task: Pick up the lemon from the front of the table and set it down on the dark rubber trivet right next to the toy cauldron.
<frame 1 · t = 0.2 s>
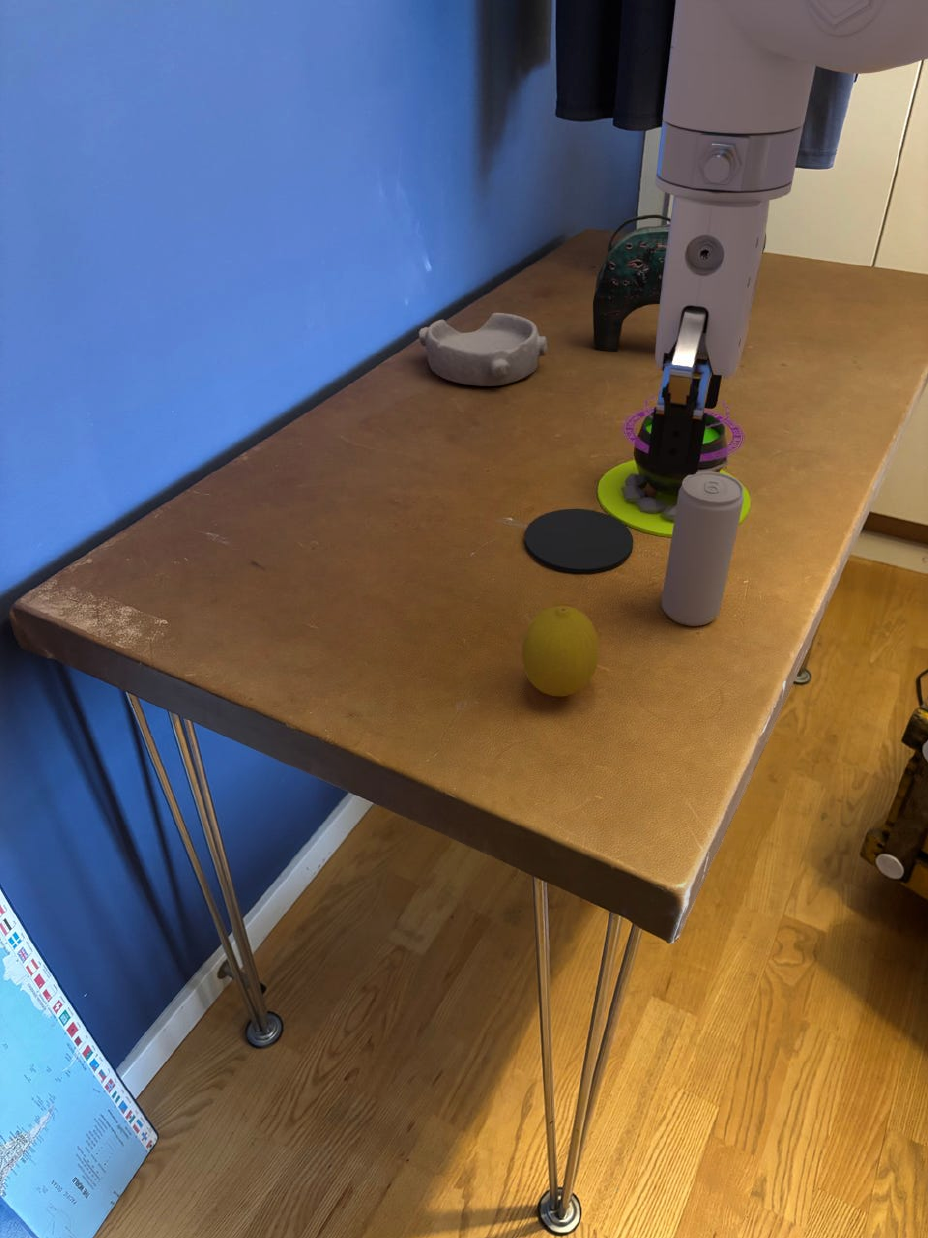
hand: (683, 435, 62), 18 cm above the table, tool pointing down, fingers open, 9 cm apart
toy cauldron: (672, 497, 91), on the table
dish: (484, 370, 115), on the table
beverage can: (689, 613, 76), on the table
ceramic cat: (665, 354, 119), on the table
lemon: (557, 694, 69), on the table
trivet: (578, 542, 84), on the table
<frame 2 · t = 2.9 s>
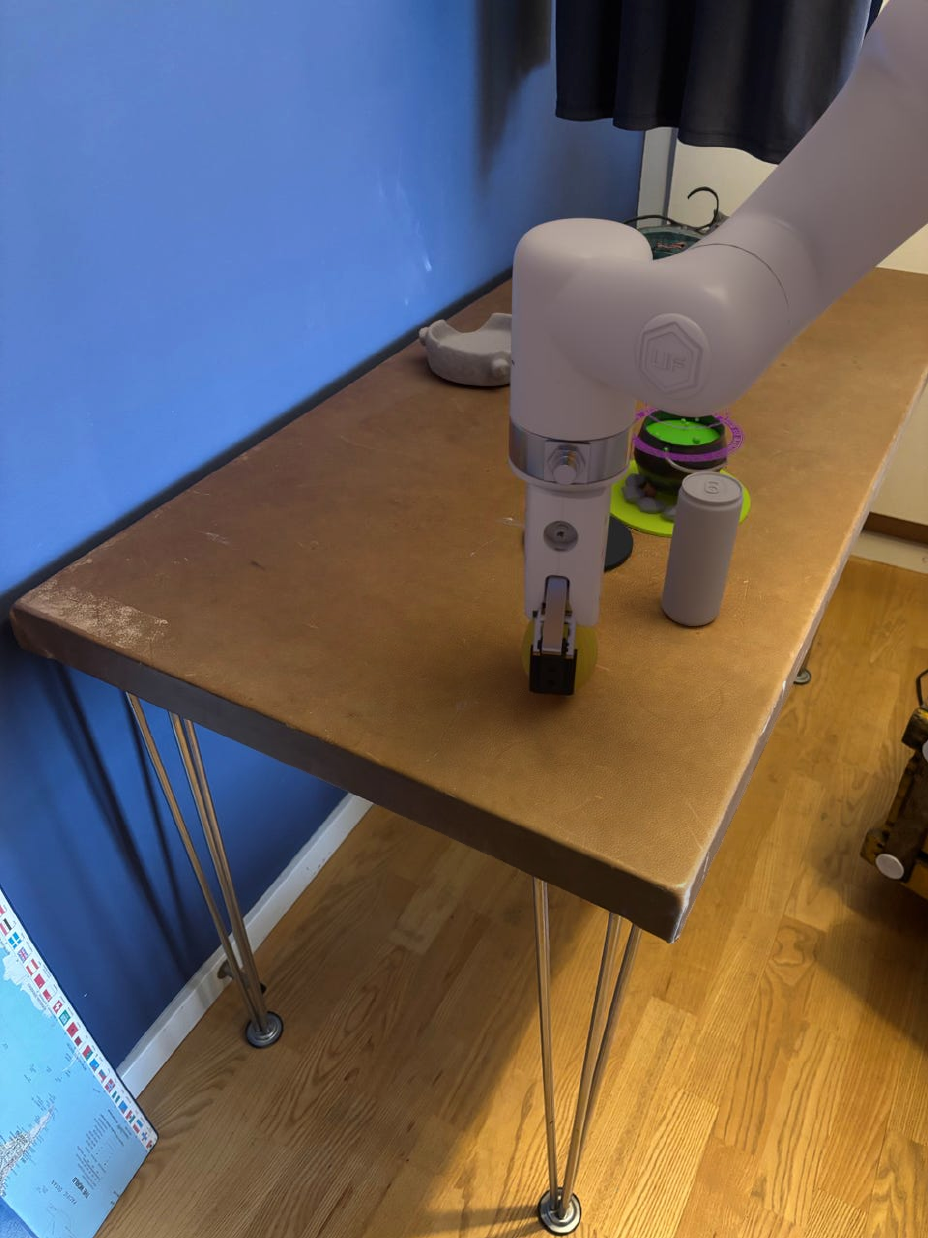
hand: (554, 660, 67), 3 cm above the table, tool pointing down, fingers closed on lemon, 5 cm apart
lemon: (556, 693, 69), on the table, touching gripper
everything else where it was.
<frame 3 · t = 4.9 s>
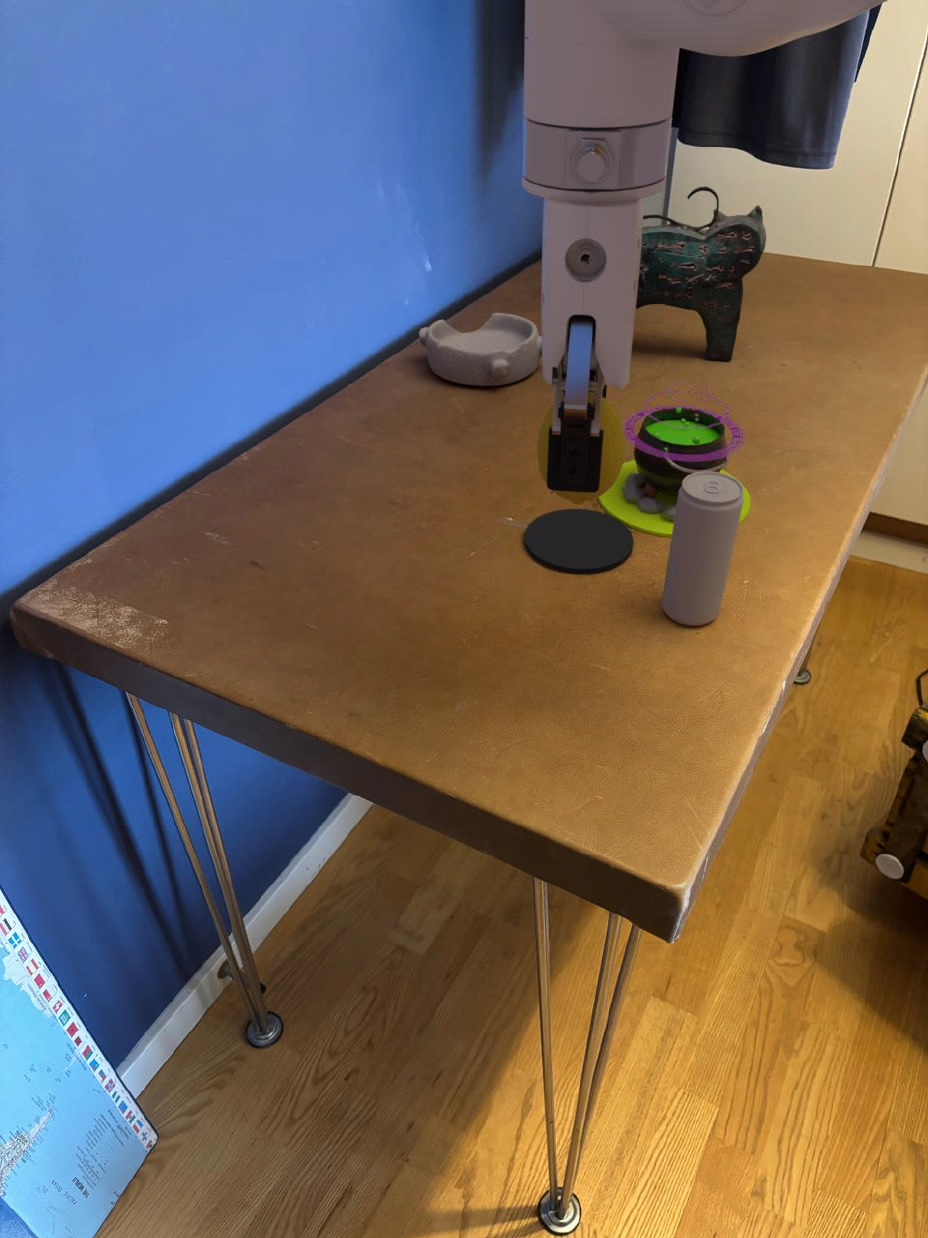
hand: (575, 461, 58), 19 cm above the table, tool pointing down, fingers closed on lemon, 5 cm apart
lemon: (577, 506, 60), point 15 cm above the table, touching gripper
everything else where it was.
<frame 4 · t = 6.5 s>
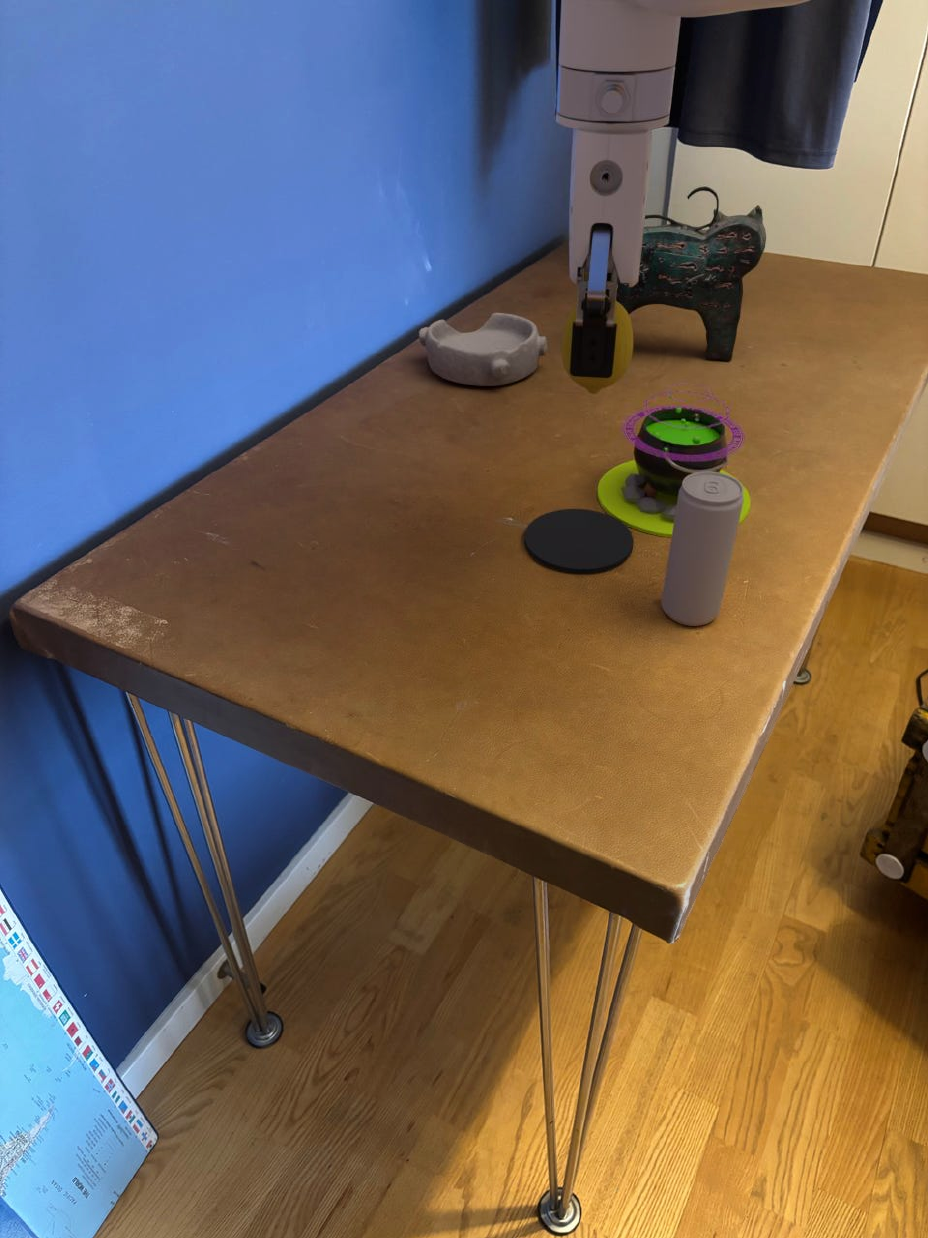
hand: (593, 356, 71), 19 cm above the table, tool pointing down, fingers closed on lemon, 5 cm apart
lemon: (593, 395, 73), point 15 cm above the table, touching gripper
everything else where it was.
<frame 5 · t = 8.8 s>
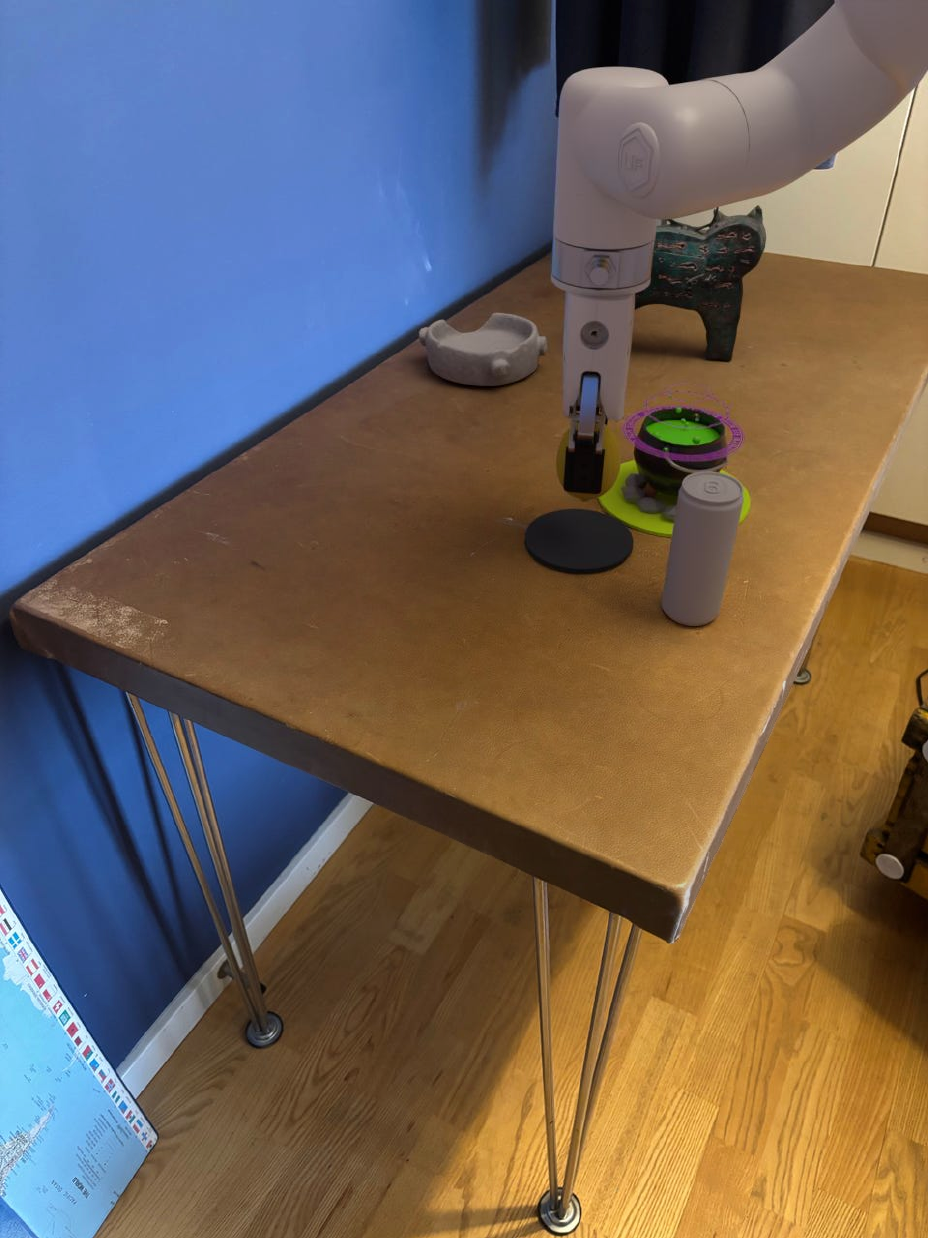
hand: (584, 470, 80), 8 cm above the table, tool pointing down, fingers closed on lemon, 5 cm apart
lemon: (584, 503, 82), point 4 cm above the table, touching gripper
everything else where it was.
when the fingers open (4 cm above the table, at t = 10.2 s): lemon stays where it is, resting on trivet.
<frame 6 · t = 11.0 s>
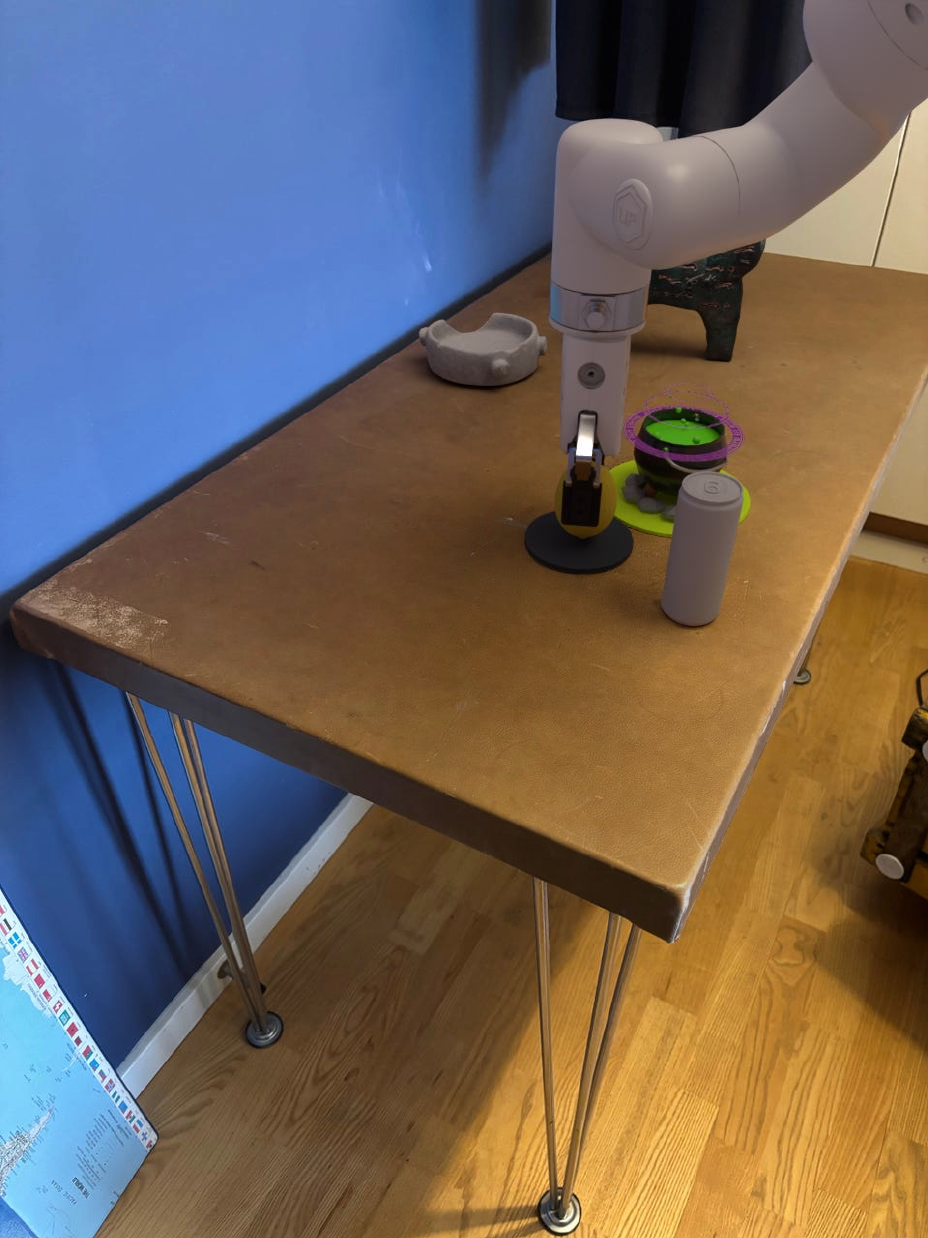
hand: (583, 494, 81), 5 cm above the table, tool pointing down, fingers open, 9 cm apart
lemon: (582, 539, 84), resting on trivet
everything else where it was.
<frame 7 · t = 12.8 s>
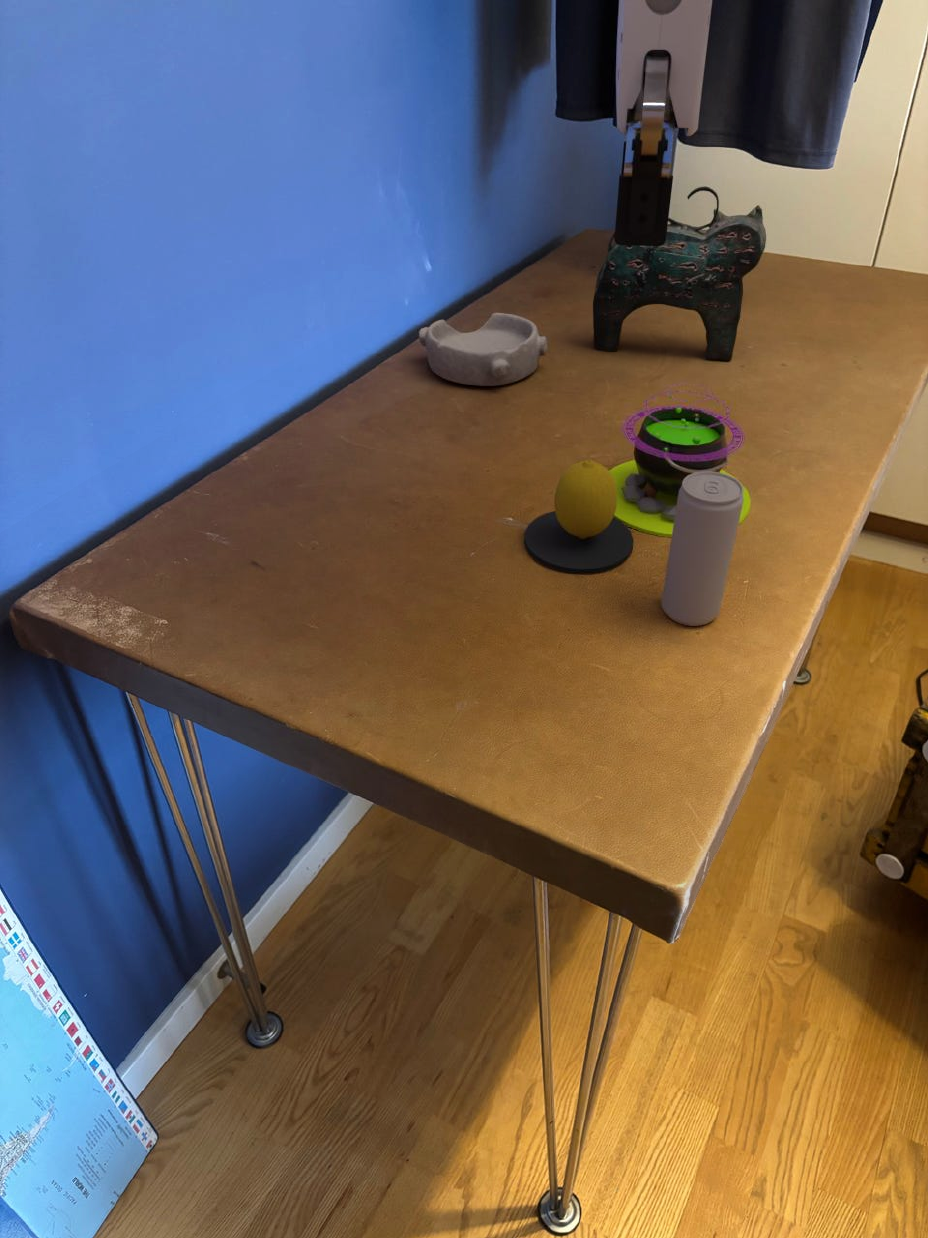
hand: (640, 222, 61), 30 cm above the table, tool pointing down, fingers open, 9 cm apart
nothing on the table moved.
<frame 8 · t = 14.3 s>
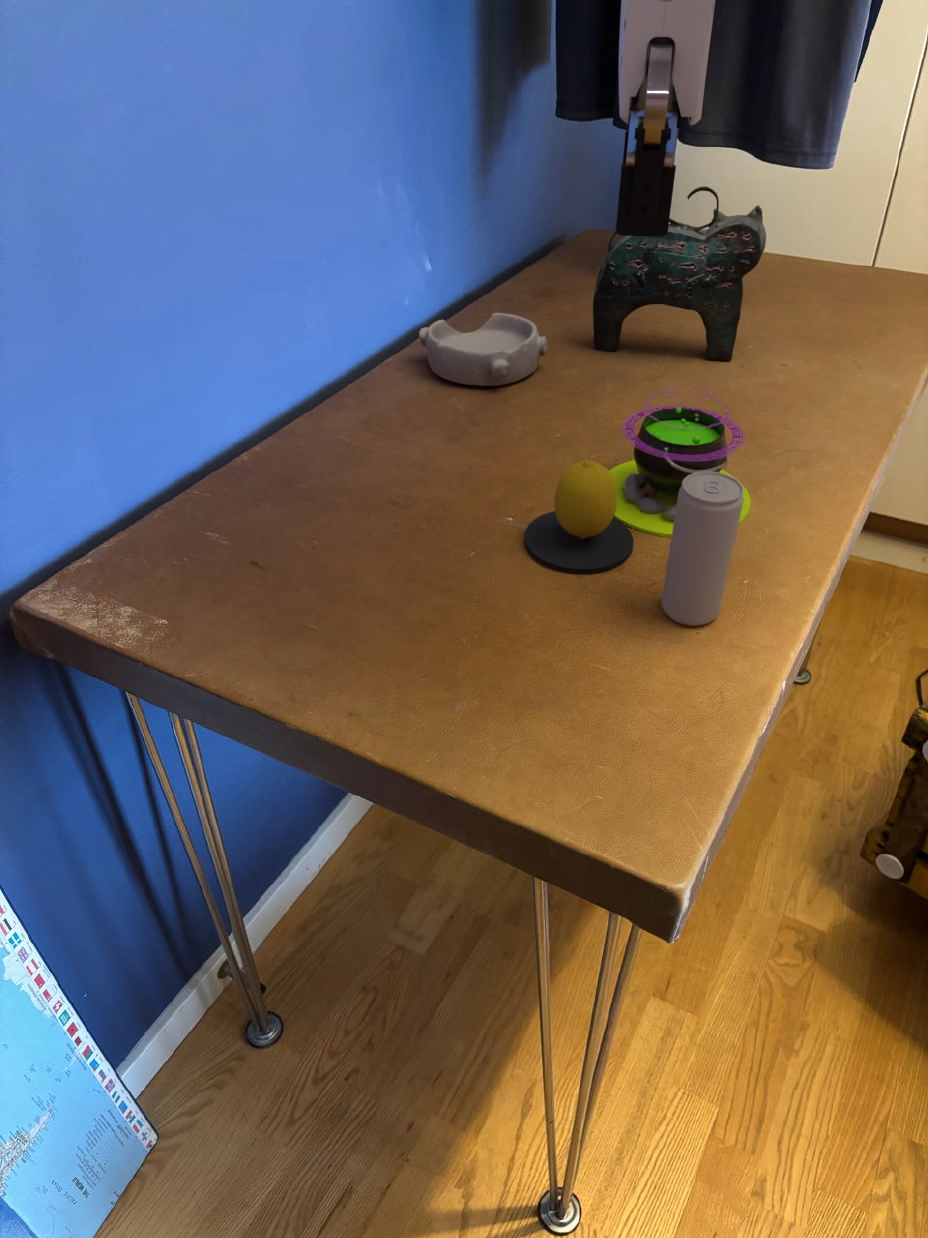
hand: (642, 213, 61), 30 cm above the table, tool pointing down, fingers open, 9 cm apart
nothing on the table moved.
at the end: lemon 0.4 cm from the trivet (horizontally); lemon 12.8 cm from the toy cauldron (horizontally); the gripper is holding nothing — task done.
